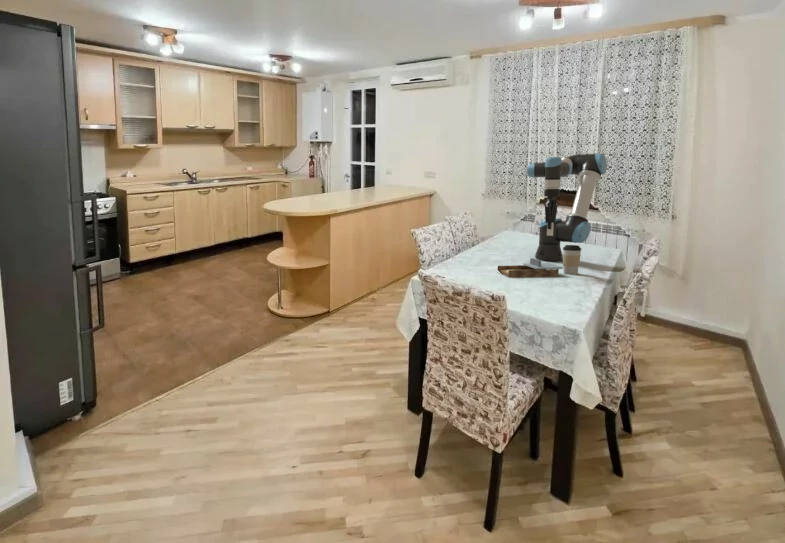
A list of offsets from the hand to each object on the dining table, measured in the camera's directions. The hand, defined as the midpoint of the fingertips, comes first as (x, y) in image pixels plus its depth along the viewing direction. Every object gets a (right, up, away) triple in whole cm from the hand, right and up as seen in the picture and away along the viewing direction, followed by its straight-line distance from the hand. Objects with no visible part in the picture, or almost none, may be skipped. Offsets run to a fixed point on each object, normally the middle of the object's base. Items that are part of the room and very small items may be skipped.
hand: (549, 235), depth 245 cm
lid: (-3, -16, +2) cm, 16 cm away
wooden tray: (-11, -20, +1) cm, 23 cm away
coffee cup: (+12, -20, +5) cm, 24 cm away
